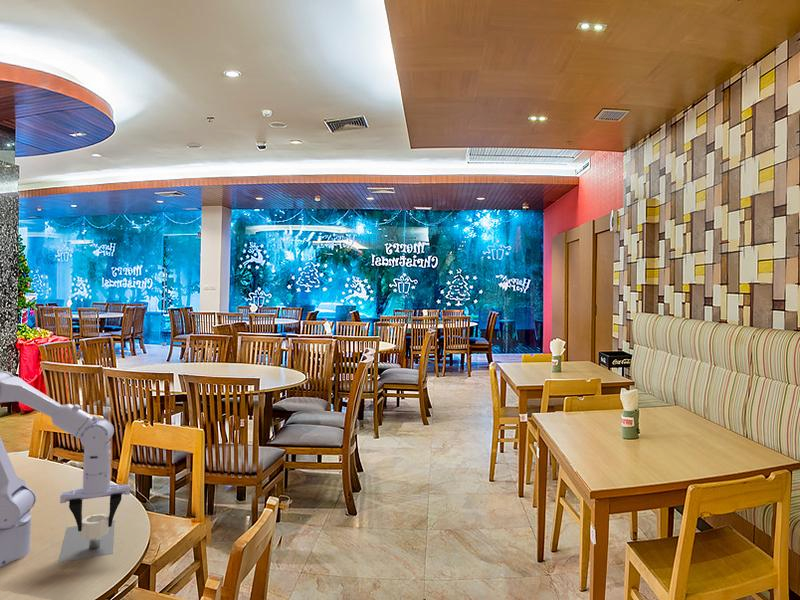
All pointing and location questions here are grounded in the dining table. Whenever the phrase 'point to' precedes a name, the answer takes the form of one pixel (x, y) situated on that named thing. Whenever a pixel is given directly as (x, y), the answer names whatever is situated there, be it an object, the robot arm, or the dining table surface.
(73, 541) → the gray board
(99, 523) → the cream ring
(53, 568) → the dining table surface
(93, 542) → the steel post
